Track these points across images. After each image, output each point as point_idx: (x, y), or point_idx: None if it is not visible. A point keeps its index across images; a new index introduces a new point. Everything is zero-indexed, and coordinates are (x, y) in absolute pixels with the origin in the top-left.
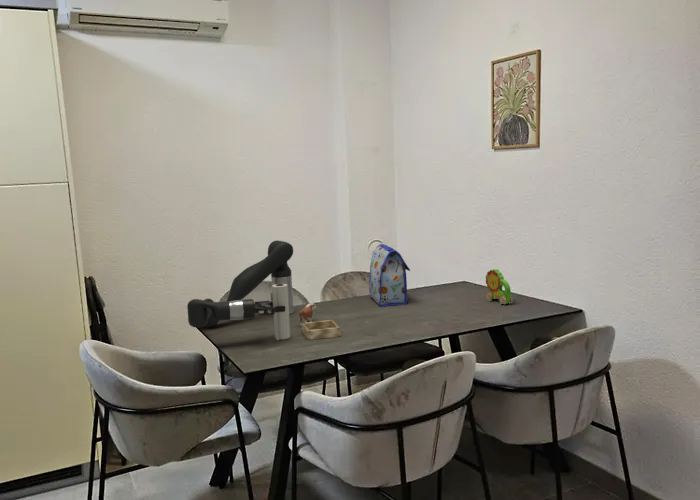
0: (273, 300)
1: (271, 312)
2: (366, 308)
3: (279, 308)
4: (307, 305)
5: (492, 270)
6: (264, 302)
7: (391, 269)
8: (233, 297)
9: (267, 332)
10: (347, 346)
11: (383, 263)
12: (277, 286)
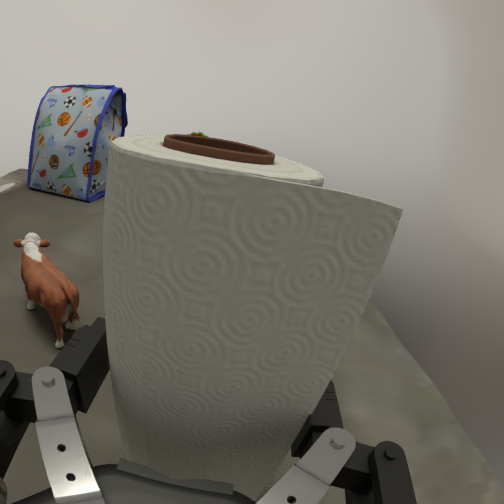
0: (222, 382)
1: (372, 490)
2: (75, 212)
3: (336, 409)
4: (32, 251)
5: (197, 133)
6: (90, 467)
7: (105, 125)
8: None
9: (24, 482)
10: (376, 347)
11: (103, 111)
12: (288, 171)
